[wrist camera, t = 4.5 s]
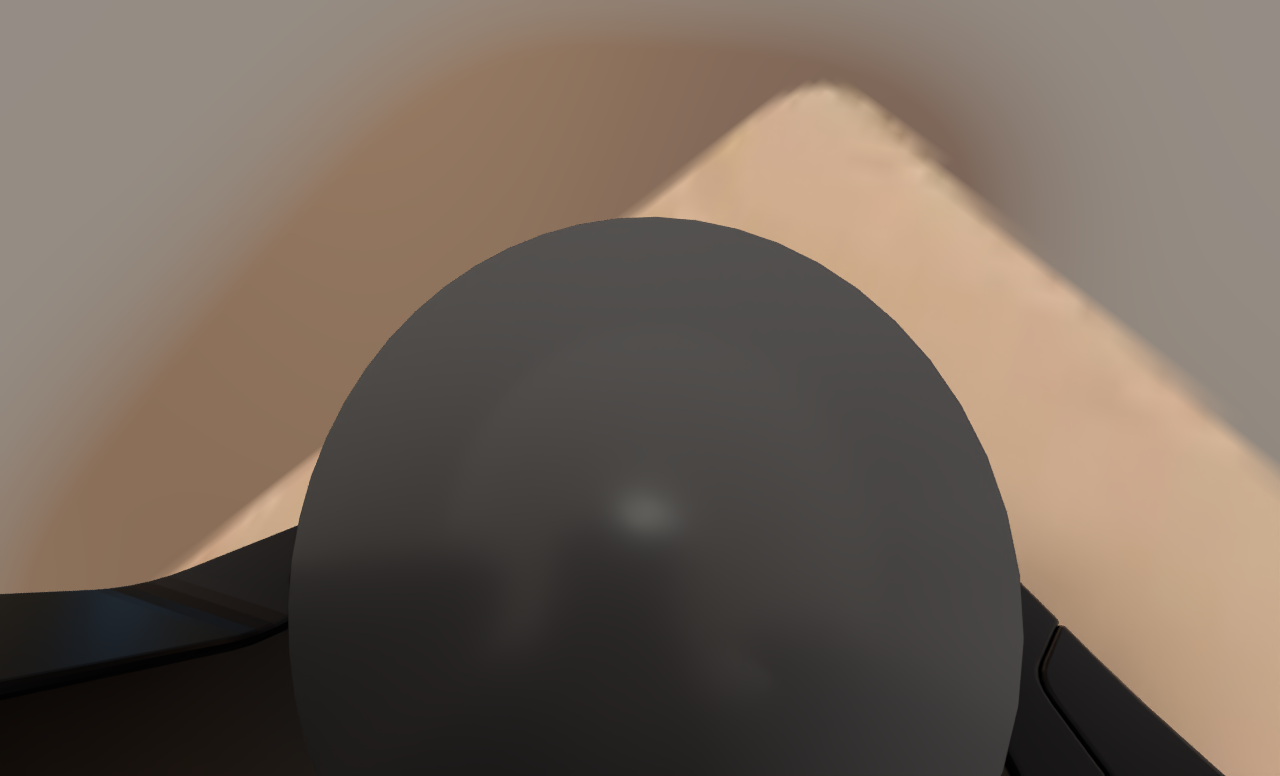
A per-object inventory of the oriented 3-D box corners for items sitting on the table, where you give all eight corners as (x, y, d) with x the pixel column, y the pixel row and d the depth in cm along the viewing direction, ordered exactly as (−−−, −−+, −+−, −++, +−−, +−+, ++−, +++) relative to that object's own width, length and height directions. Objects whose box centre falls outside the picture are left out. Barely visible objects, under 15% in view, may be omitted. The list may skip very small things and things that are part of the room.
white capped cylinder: (723, 636, 13) (531, 1294, 2) (625, 515, 15) (205, 508, 4) (837, 528, 13) (1259, 593, 2) (726, 419, 15) (625, 114, 4)
